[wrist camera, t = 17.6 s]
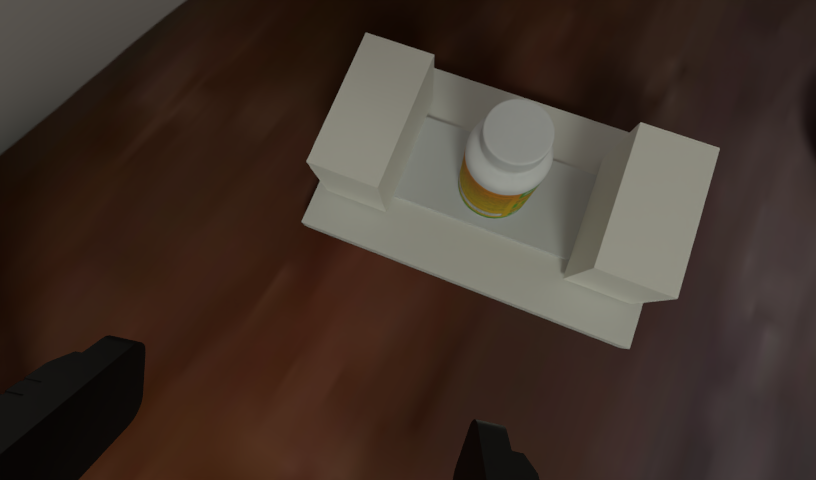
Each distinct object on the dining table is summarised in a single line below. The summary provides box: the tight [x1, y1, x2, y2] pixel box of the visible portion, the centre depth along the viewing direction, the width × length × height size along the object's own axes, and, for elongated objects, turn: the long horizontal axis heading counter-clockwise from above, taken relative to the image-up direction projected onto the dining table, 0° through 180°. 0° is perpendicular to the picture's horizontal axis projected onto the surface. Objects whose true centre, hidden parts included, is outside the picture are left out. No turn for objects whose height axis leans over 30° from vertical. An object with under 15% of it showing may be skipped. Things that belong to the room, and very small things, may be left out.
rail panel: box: [302, 33, 720, 349], centre depth 31 cm, size 26×16×8 cm, turn 68°
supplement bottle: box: [458, 99, 555, 219], centre depth 29 cm, size 5×5×10 cm
